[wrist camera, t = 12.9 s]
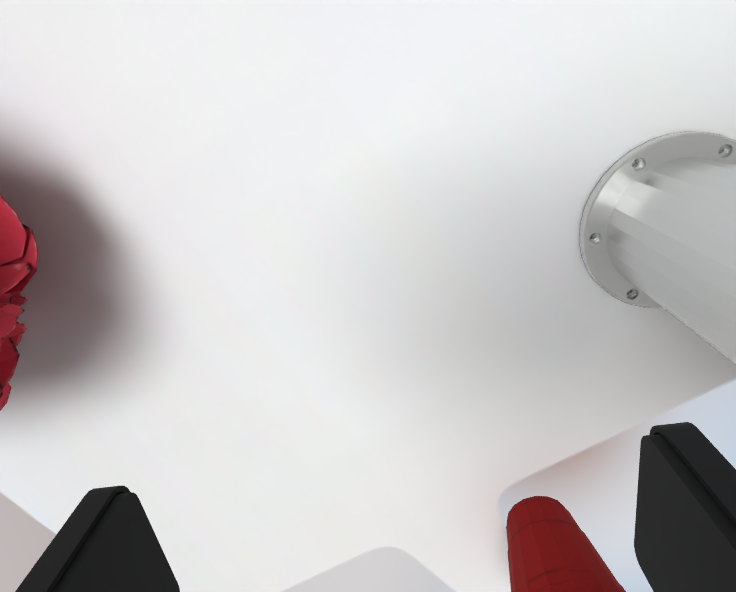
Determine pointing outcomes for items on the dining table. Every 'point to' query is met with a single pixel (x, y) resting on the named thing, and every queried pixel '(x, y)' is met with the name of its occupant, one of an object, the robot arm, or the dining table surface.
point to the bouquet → (12, 289)
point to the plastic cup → (552, 551)
